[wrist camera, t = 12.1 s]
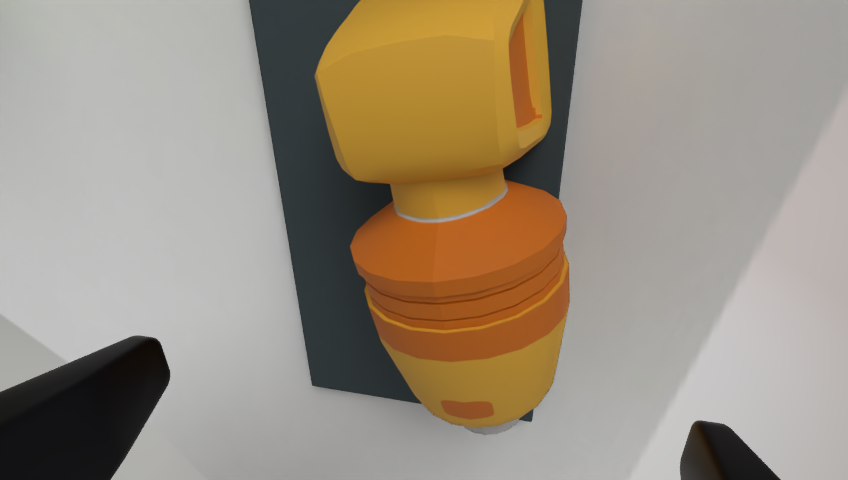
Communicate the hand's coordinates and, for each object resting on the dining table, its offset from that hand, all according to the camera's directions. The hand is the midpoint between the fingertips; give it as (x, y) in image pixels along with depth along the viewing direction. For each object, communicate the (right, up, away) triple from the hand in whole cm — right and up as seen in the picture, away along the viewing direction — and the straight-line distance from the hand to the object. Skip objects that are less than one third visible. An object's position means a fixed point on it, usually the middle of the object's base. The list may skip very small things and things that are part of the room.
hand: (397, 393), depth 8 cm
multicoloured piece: (+2, +4, +7) cm, 8 cm away
